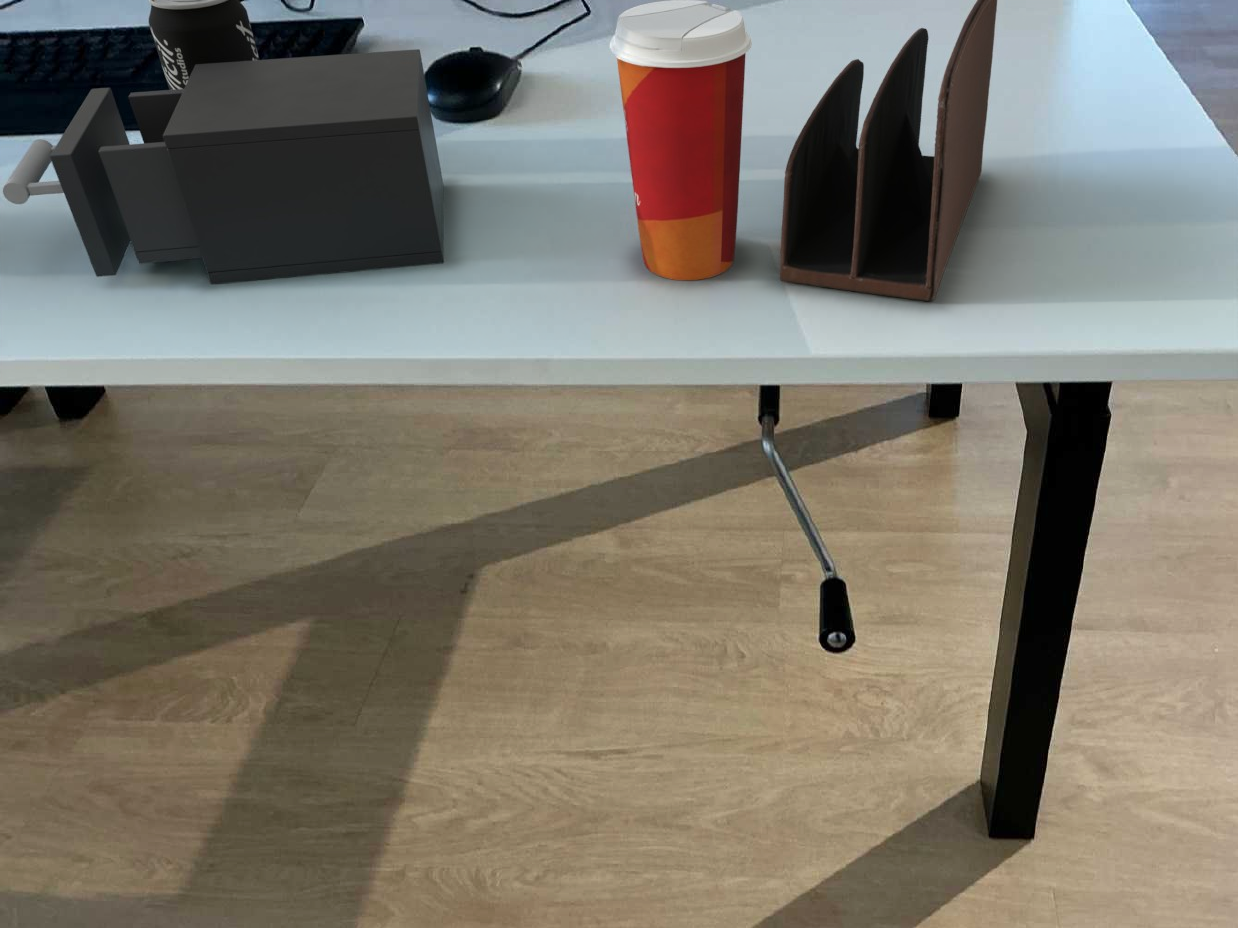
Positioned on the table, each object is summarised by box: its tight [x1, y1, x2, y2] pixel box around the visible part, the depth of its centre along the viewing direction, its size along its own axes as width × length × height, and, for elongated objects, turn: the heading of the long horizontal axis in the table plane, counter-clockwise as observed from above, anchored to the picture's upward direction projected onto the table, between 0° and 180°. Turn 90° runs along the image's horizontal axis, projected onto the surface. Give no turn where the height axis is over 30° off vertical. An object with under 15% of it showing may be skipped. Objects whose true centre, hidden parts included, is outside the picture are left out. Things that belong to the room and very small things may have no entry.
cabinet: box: [163, 48, 445, 285], centre depth 79 cm, size 15×13×10 cm
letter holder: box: [778, 0, 998, 302], centre depth 77 cm, size 10×20×14 cm, turn 163°
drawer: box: [1, 87, 202, 278], centre depth 78 cm, size 18×11×8 cm, turn 101°
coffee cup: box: [609, 0, 753, 281], centre depth 73 cm, size 8×8×15 cm
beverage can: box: [148, 0, 260, 90], centre depth 87 cm, size 7×7×12 cm
